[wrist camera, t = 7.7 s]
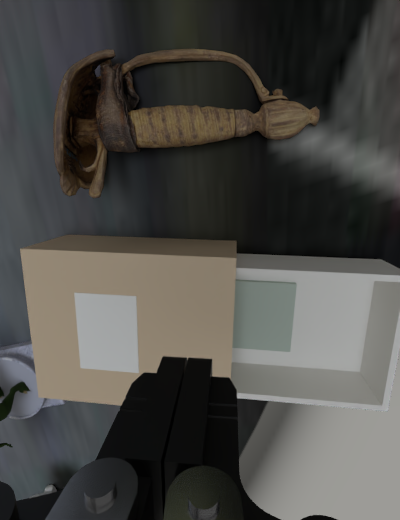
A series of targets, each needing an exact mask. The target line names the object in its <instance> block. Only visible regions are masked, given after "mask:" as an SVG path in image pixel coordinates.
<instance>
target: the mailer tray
mask: <svg viewBox="0 0 400 520" xmlns="http://www.w3.org/2000/svg"><path fill="white" fill-rule="evenodd" d="M399 350H400V269H399V268H397V267H395V266H393V265H391V264H389V263H387V262H385V261H383V260H381V259H358V258H334V257H310V256H286V255H262V254H238V253H237V260H236V281H235V302H234V323H233V344H232V365H231V381H232V383H233V385H234V386H235V388H236V390H237V398H243V399H254V400H265V401H276V402H287V403H298V404H310V405H320V406H331V407H343V408H353V409H365V410H376V411H388V407H389V402H390V397H391V392H392V386H393V381H394V375H395V371H396V366H397V360H398V355H399Z"/></svg>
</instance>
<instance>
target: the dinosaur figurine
mask: <svg viewBox="0 0 400 520" xmlns="http://www.w3.org/2000/svg"><path fill="white" fill-rule="evenodd" d="M66 401H67V400H59V399H49V398H39V397H38V388H37V380H36V372H35V364H34V356H33V348H32V341H28V342H23V343H18V344H13V345H9V346H4V347H0V421H1V420H3V419H5V418H6V417H8V418H13V419H26V418H29V417H32V416H33V415H35V414H36V413H38V412H39V410H40V409H41V408H43V407H49V406H55V405H61V404H65V402H66ZM4 445H7V446H10V447H12V446H11V444H10V445H9V444H7V443H1V444H0V448H1V447H3V446H4Z"/></svg>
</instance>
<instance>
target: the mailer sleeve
mask: <svg viewBox="0 0 400 520" xmlns="http://www.w3.org/2000/svg"><path fill="white" fill-rule="evenodd" d="M20 251H21V259H22V268H23V276H24V284H25V292H26V300H27V308H28V316H29V324H30V332H31V340H32V348H33V356H34V364H35V372H36V380H37V388H38V397H39V398H49V399H59V400H70V401H80V402H90V403H101V404H111V405H122V403H123V401H124V399H125V397H126V395H127V392H128V390H129V388H130V386H131V384H132V383H133V382H134V381H135V380H136V379H137V378H138V377H139V376H141V375H142V374H143V373H144V372H147V373H157V370H158V367H159V365H160V362H161V359H162V357H163V356H170V357H187V360H188V358H206V359H212V376H213V377H229V378H230V380H231V365H232V344H233V323H234V302H235V281H236V260H237V245H236V241H226V240H199V239H173V238H146V237H119V236H93V235H65V236H61V237H58V238H54V239H51V240H48V241H44V242H41V243H38V244H34V245H31V246H28V247H24V248H21V249H20Z"/></svg>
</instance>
